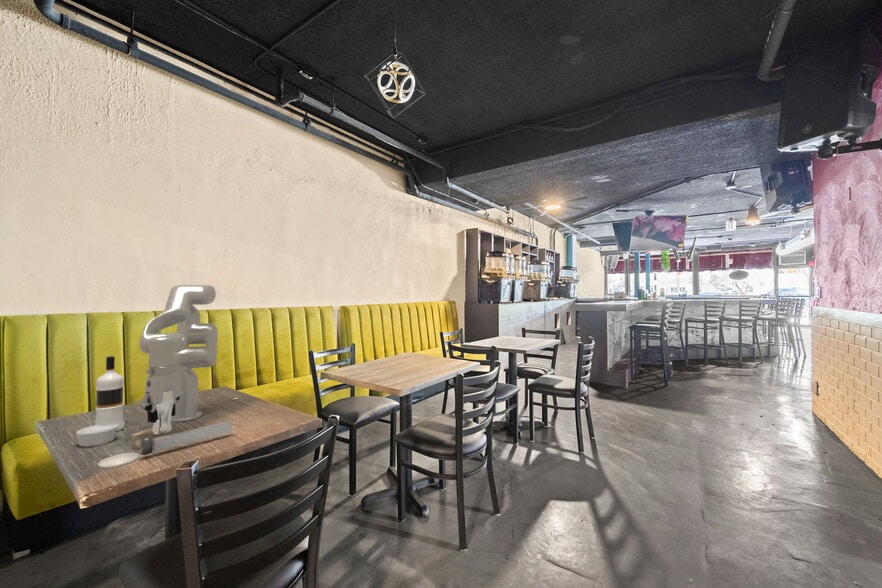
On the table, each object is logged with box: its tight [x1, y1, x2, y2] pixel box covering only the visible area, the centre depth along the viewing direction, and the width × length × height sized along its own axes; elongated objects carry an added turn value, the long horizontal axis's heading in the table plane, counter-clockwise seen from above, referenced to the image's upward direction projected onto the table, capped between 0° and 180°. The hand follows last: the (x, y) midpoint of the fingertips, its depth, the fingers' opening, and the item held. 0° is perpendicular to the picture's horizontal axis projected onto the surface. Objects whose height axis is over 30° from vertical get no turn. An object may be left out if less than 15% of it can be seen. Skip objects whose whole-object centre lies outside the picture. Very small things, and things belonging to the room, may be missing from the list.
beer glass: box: [151, 390, 174, 434], centre depth 132 cm, size 7×7×15 cm
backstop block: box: [131, 427, 165, 450], centre depth 133 cm, size 3×9×5 cm, turn 167°
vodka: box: [94, 355, 126, 432], centre depth 146 cm, size 9×9×30 cm
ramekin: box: [75, 424, 118, 448], centre depth 134 cm, size 11×11×5 cm
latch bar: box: [140, 420, 233, 456], centre depth 131 cm, size 3×28×5 cm, turn 140°
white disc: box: [97, 452, 140, 469], centre depth 119 cm, size 10×10×1 cm
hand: (161, 418), depth 132 cm, fingers closed on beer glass, 6 cm apart
